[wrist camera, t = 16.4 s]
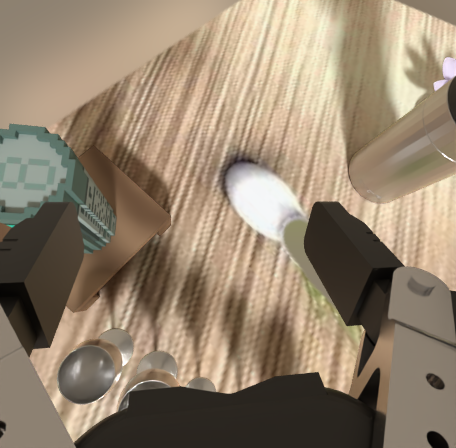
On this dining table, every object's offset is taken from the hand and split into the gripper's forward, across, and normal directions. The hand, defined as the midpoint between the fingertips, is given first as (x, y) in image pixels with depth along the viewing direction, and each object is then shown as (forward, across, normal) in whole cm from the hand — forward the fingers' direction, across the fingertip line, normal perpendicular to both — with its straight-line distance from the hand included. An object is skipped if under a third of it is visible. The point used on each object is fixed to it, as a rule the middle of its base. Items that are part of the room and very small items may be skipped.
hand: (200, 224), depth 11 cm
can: (+20, +10, +14) cm, 27 cm away
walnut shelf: (+24, +11, +17) cm, 31 cm away
